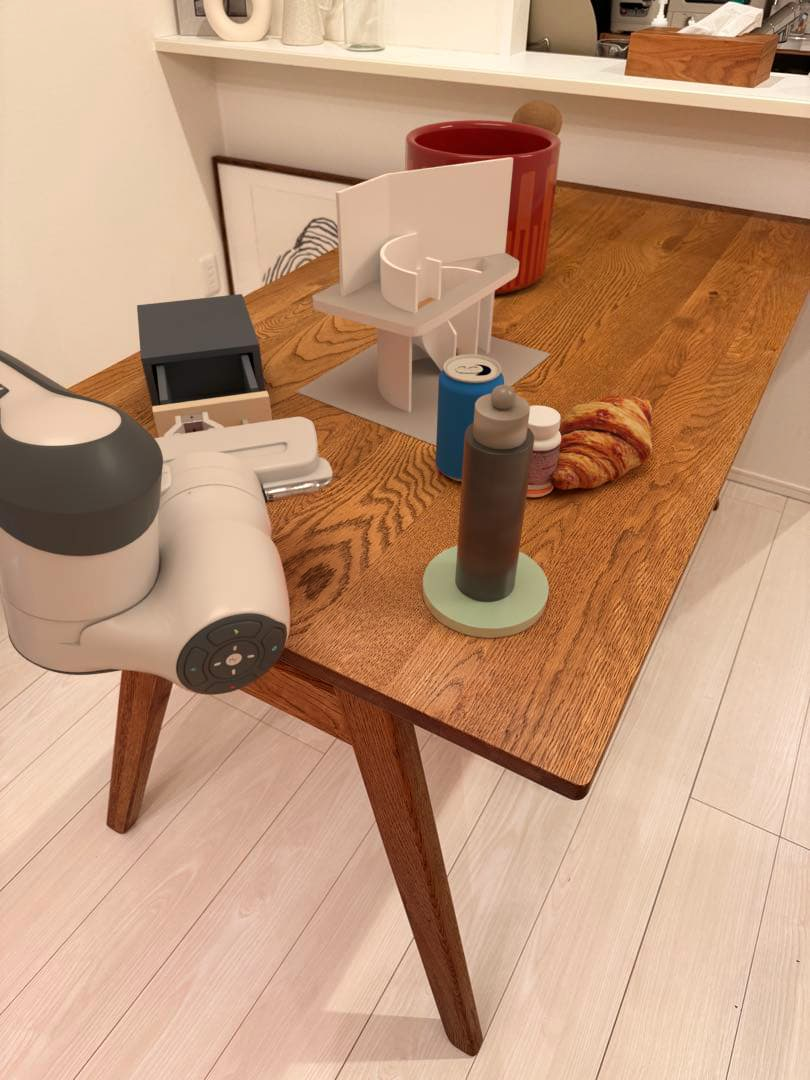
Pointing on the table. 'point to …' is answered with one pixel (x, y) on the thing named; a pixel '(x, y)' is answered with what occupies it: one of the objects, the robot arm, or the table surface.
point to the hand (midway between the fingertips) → (192, 420)
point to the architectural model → (420, 289)
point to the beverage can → (461, 405)
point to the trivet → (484, 616)
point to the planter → (529, 181)
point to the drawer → (210, 392)
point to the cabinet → (195, 334)
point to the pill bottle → (543, 449)
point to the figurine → (539, 116)
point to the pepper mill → (493, 495)
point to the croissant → (602, 441)
